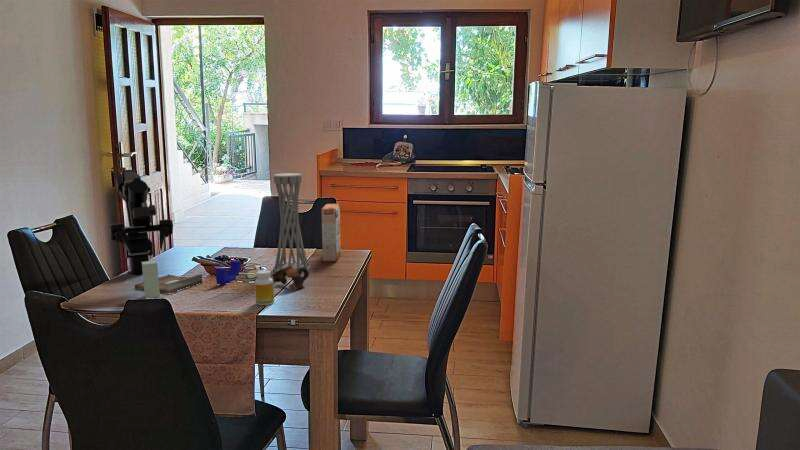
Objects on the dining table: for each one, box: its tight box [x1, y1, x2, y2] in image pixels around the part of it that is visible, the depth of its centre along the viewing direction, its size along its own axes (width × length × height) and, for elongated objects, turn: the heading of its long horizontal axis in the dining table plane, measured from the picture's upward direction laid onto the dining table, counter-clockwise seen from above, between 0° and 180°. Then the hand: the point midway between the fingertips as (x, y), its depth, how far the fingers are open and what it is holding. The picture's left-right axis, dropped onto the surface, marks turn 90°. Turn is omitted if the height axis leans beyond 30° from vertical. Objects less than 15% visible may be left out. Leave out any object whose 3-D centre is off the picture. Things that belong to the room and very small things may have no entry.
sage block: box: [142, 260, 161, 299], centre depth 185 cm, size 4×4×11 cm
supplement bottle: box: [254, 269, 275, 306], centre depth 177 cm, size 5×5×10 cm
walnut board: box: [134, 273, 203, 294], centre depth 198 cm, size 16×14×3 cm
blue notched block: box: [215, 259, 242, 286], centre depth 203 cm, size 12×4×6 cm, turn 169°
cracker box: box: [321, 203, 342, 263], centre depth 234 cm, size 14×6×21 cm, turn 179°
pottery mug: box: [271, 266, 310, 292], centre depth 195 cm, size 12×10×8 cm
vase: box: [272, 172, 311, 274], centre depth 215 cm, size 14×13×35 cm
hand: (146, 250), depth 190 cm, fingers open, 9 cm apart
